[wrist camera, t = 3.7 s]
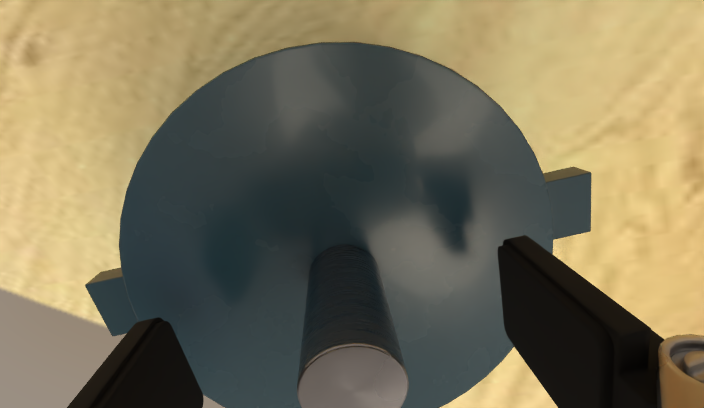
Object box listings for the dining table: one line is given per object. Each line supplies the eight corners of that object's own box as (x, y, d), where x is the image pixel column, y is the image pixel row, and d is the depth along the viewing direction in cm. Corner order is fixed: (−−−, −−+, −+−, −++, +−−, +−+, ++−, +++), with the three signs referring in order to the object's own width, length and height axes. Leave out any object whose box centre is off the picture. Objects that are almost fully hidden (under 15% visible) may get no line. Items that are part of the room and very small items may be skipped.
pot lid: (60, 104, 11) (-231, 125, 5) (525, -2, 11) (744, -98, 5) (218, 438, 16) (154, 639, 10) (541, 368, 16) (663, 532, 10)
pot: (132, 114, 19) (-18, 138, 11) (487, 33, 18) (611, -5, 10) (218, 324, 23) (159, 454, 15) (505, 261, 23) (601, 358, 15)
